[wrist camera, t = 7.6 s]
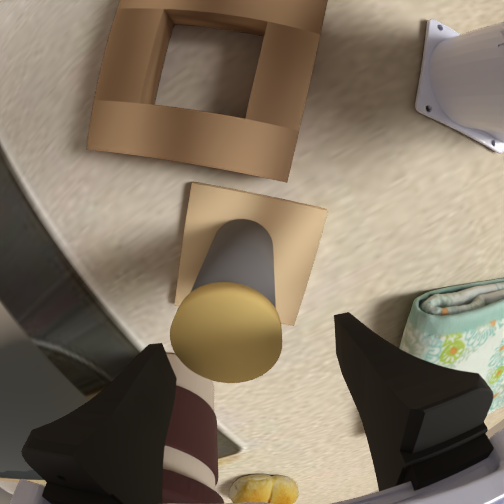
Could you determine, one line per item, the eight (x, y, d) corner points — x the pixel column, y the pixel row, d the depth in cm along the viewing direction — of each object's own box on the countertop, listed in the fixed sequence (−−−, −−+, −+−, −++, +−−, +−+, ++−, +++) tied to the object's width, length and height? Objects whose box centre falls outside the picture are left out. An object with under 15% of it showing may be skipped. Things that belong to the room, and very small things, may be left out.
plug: (268, 209, 20) (270, 285, 11) (281, 271, 22) (290, 375, 13) (202, 223, 21) (154, 304, 12) (219, 282, 22) (190, 386, 13)
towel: (501, 386, 31) (519, 409, 26) (366, 427, 31) (378, 461, 26) (546, 264, 24) (575, 283, 19) (398, 286, 24) (427, 319, 19)
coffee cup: (240, 410, 28) (241, 554, 14) (146, 418, 29) (115, 544, 15) (212, 329, 25) (190, 509, 11) (104, 344, 25) (34, 485, 11)
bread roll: (283, 498, 36) (285, 520, 33) (224, 491, 35) (223, 514, 31) (309, 474, 34) (313, 499, 30) (243, 467, 32) (243, 493, 29)
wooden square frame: (318, 10, 16) (328, -6, 14) (281, 175, 20) (286, 182, 18) (144, -13, 15) (131, -31, 12) (105, 146, 19) (86, 149, 17)
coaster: (326, 208, 21) (328, 210, 21) (292, 321, 24) (293, 325, 24) (193, 181, 20) (191, 183, 20) (176, 301, 24) (174, 305, 23)
